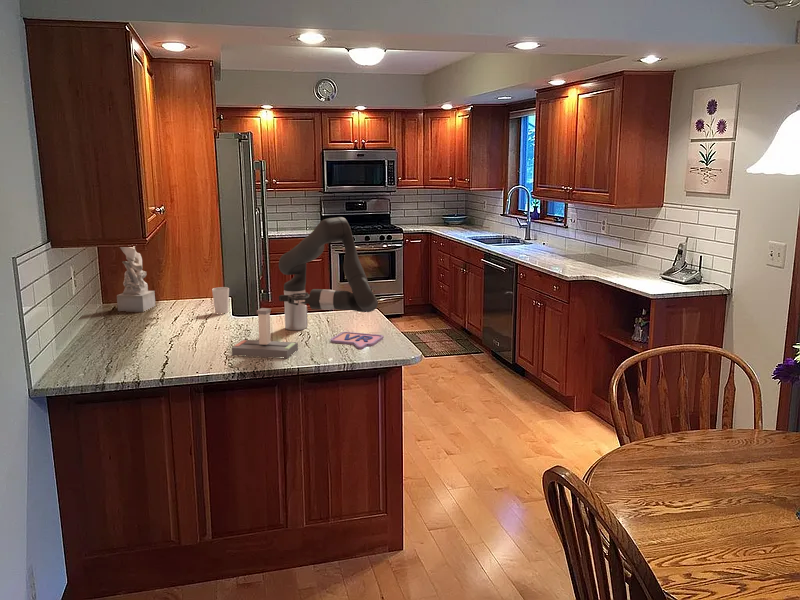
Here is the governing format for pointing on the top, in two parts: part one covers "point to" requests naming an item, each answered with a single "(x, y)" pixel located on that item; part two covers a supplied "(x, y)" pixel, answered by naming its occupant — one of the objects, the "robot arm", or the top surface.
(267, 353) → the switch base
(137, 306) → the sculpture
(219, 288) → the cup
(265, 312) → the handle
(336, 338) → the icon
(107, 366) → the top surface
